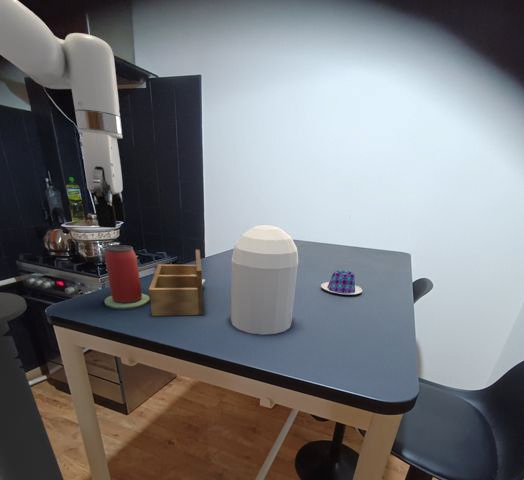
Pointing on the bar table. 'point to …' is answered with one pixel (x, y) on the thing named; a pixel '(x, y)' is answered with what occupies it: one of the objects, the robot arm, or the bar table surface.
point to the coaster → (117, 305)
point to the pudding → (342, 283)
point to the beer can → (123, 273)
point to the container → (263, 280)
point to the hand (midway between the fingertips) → (112, 223)
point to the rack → (177, 289)
